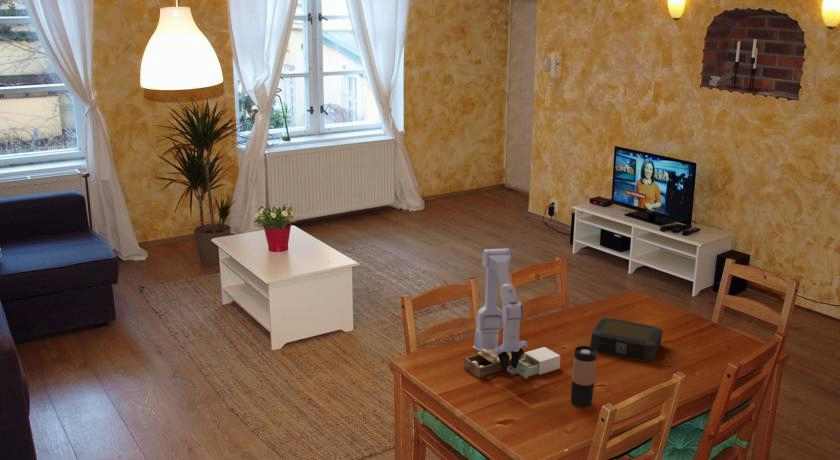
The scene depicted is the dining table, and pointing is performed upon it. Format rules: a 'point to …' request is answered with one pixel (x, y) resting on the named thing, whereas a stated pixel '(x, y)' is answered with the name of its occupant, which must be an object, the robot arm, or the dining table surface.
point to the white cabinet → (544, 359)
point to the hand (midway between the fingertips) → (509, 368)
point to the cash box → (626, 339)
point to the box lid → (491, 355)
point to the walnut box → (478, 370)
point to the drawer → (525, 368)
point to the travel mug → (583, 376)
